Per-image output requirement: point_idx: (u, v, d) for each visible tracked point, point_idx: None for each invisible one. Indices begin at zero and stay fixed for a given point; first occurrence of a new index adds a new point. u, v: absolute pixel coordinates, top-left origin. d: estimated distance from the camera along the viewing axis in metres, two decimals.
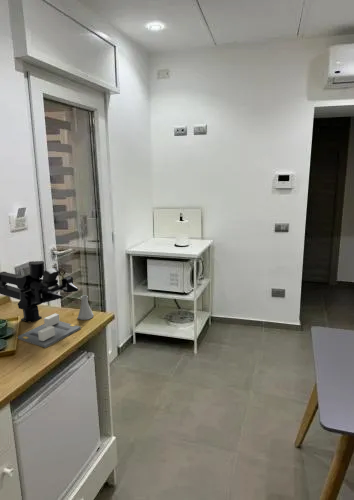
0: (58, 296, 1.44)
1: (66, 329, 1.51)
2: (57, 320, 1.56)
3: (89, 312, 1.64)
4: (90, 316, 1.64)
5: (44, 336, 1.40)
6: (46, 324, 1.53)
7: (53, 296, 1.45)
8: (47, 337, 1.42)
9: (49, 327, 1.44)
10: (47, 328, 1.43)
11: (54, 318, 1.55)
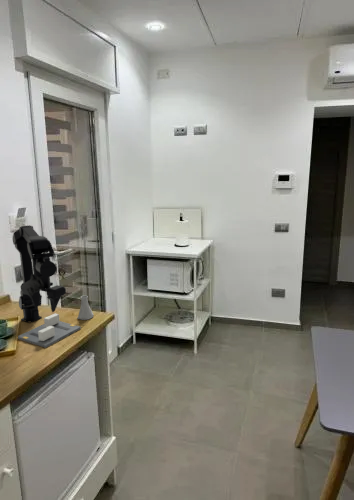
0: None
1: (66, 329, 1.51)
2: (57, 320, 1.56)
3: (89, 312, 1.64)
4: (90, 315, 1.64)
5: (44, 336, 1.40)
6: (46, 324, 1.53)
7: None
8: (47, 337, 1.42)
9: (49, 327, 1.44)
10: (47, 328, 1.43)
11: (54, 318, 1.55)
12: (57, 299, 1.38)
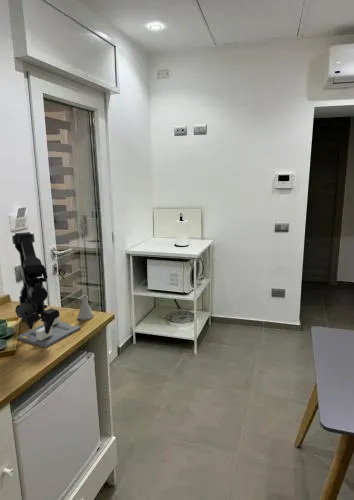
0: None
1: (66, 329, 1.51)
2: (57, 320, 1.56)
3: (89, 312, 1.64)
4: (90, 316, 1.64)
5: (42, 335, 1.41)
6: None
7: None
8: (45, 337, 1.42)
9: None
10: None
11: None
12: (51, 322, 1.42)
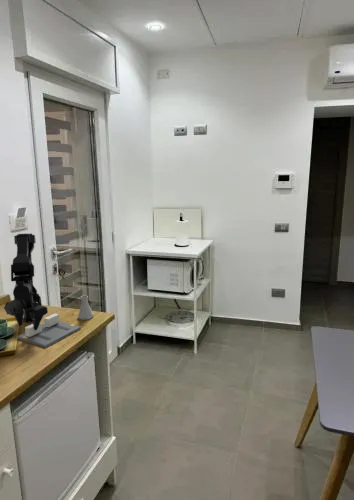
0: None
1: (66, 329, 1.51)
2: (57, 320, 1.56)
3: (89, 312, 1.64)
4: (90, 316, 1.64)
5: (30, 332, 1.44)
6: (46, 324, 1.53)
7: None
8: (34, 333, 1.45)
9: None
10: None
11: (54, 318, 1.55)
12: (39, 318, 1.45)
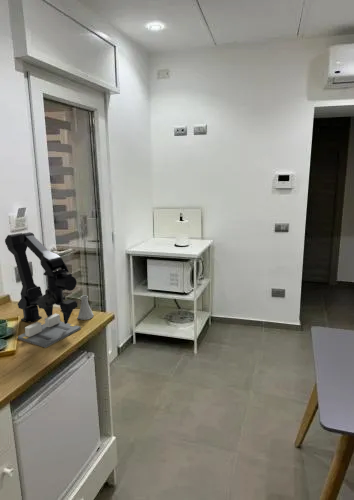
0: None
1: (66, 329, 1.51)
2: (58, 320, 1.56)
3: (89, 312, 1.64)
4: (90, 315, 1.64)
5: (30, 332, 1.44)
6: (47, 324, 1.52)
7: None
8: (34, 333, 1.45)
9: (36, 323, 1.47)
10: (34, 324, 1.46)
11: (55, 318, 1.54)
12: (69, 312, 1.50)
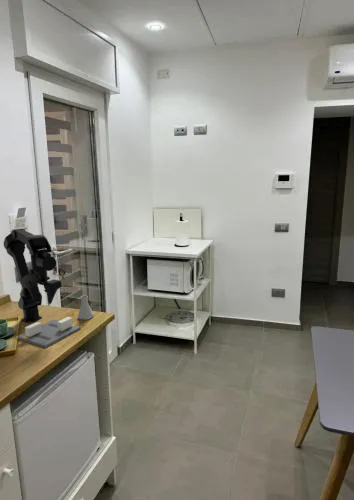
0: None
1: (66, 329, 1.51)
2: (70, 324, 1.53)
3: (89, 312, 1.64)
4: (90, 315, 1.64)
5: (30, 332, 1.44)
6: (59, 328, 1.49)
7: None
8: (34, 333, 1.45)
9: (36, 323, 1.47)
10: (34, 324, 1.46)
11: (67, 322, 1.51)
12: (53, 292, 1.49)
